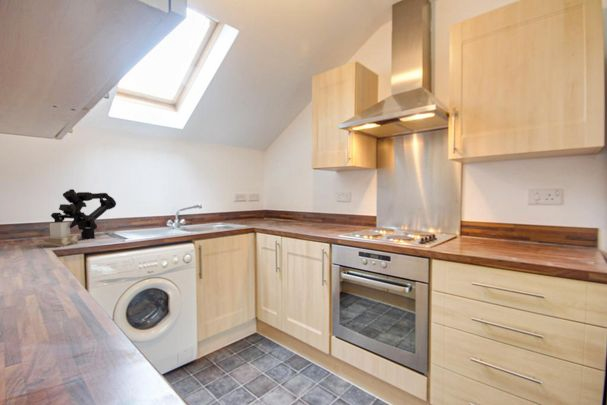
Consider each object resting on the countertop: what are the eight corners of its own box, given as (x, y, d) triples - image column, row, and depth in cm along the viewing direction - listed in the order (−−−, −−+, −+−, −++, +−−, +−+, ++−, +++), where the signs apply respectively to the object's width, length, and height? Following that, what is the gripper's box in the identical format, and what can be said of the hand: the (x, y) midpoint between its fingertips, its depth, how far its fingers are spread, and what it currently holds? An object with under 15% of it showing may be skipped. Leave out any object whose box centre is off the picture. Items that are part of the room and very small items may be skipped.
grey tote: (59, 242, 174) (58, 222, 173) (70, 242, 174) (69, 222, 173) (50, 244, 167) (49, 223, 167) (61, 244, 168) (60, 223, 167)
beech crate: (59, 243, 176) (59, 235, 176) (77, 242, 176) (77, 235, 176) (43, 246, 165) (42, 238, 165) (62, 246, 165) (62, 238, 165)
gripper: (52, 199, 176) (37, 219, 166) (83, 199, 176) (69, 219, 166) (63, 211, 184) (49, 231, 174) (93, 210, 185) (81, 230, 174)
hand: (62, 228), depth 172 cm, fingers open, 9 cm apart
